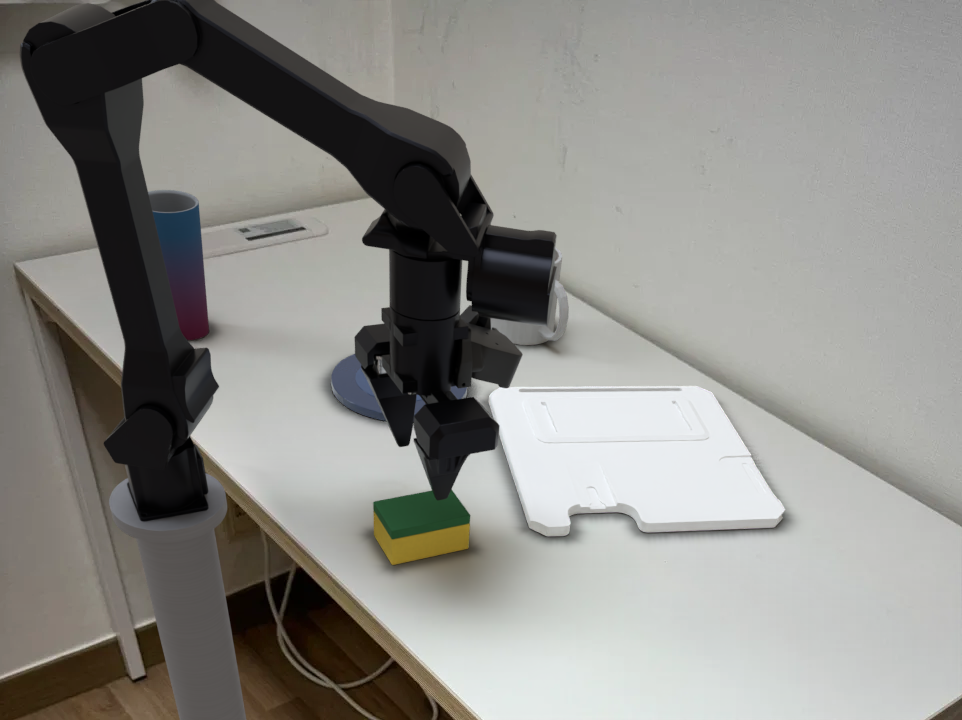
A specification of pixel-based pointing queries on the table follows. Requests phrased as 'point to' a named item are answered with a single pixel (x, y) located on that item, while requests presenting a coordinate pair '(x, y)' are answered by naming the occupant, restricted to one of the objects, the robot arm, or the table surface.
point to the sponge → (420, 526)
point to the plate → (365, 389)
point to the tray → (630, 458)
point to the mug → (536, 333)
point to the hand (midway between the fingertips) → (421, 471)
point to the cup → (183, 257)
